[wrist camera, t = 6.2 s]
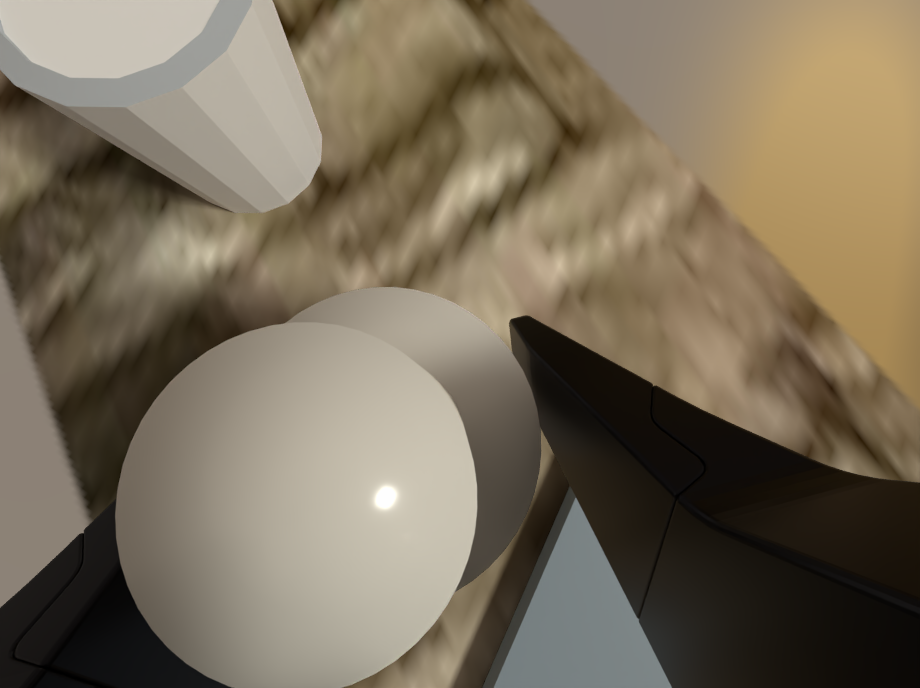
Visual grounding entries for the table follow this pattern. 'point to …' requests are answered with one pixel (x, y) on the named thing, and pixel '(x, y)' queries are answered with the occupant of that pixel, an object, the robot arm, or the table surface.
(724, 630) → the robot arm
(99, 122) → the shot glass
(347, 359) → the cream bottle
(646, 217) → the table surface
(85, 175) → the table surface
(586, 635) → the slate board
